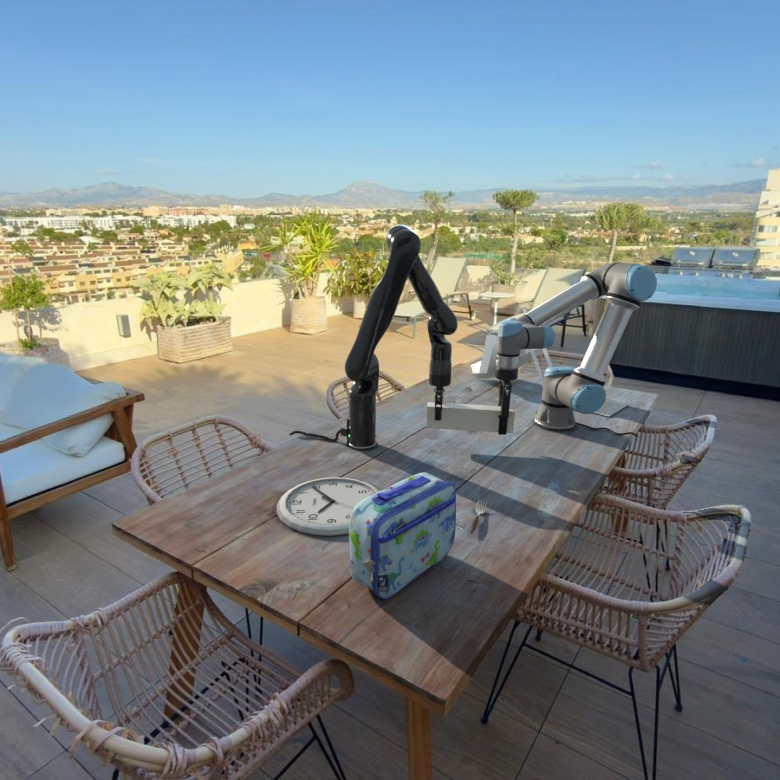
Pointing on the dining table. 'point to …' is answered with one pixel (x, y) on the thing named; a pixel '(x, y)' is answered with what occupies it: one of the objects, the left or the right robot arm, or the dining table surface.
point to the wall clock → (323, 505)
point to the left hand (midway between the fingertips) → (438, 417)
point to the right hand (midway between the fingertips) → (501, 431)
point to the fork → (479, 511)
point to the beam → (468, 417)
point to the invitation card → (610, 408)
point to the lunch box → (401, 532)
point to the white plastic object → (488, 361)
